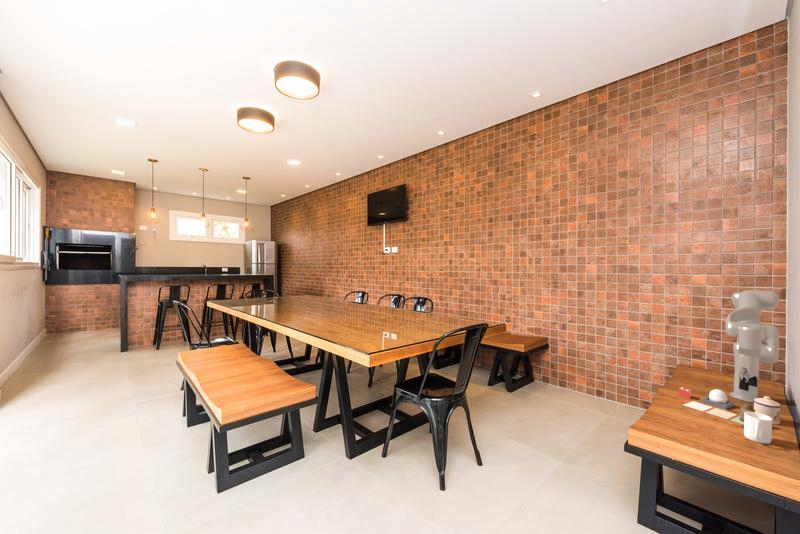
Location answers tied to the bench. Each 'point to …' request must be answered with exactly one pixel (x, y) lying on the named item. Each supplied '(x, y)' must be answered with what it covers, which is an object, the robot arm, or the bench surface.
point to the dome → (718, 396)
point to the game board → (714, 411)
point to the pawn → (745, 410)
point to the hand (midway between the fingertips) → (748, 387)
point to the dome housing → (723, 406)
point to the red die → (684, 392)
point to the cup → (758, 427)
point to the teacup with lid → (768, 408)
